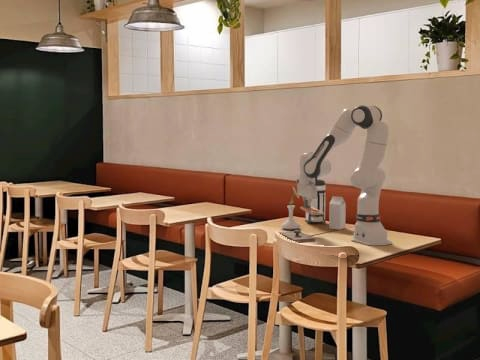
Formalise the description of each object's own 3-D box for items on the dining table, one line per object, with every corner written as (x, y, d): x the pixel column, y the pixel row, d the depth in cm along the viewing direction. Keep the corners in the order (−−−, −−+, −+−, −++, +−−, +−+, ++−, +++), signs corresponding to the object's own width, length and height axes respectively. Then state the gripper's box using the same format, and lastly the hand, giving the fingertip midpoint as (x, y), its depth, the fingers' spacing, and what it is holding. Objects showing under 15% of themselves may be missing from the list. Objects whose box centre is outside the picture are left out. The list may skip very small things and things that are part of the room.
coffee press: (297, 223, 373) (297, 175, 370) (314, 220, 384) (314, 173, 381) (318, 226, 361) (319, 177, 358) (335, 223, 371) (335, 175, 368)
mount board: (314, 241, 317) (314, 233, 316) (293, 242, 313) (294, 234, 313) (298, 233, 338) (298, 226, 337) (279, 235, 334) (279, 227, 334)
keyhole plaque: (323, 214, 327) (324, 205, 326) (312, 215, 325) (312, 206, 324) (311, 207, 343) (311, 199, 342) (300, 208, 341) (300, 199, 340)
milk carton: (339, 230, 349) (340, 197, 347) (329, 228, 353) (329, 196, 351) (345, 228, 354) (345, 196, 352) (334, 227, 359) (335, 195, 357)
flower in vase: (295, 231, 345) (296, 188, 343) (278, 229, 351) (278, 187, 348) (304, 227, 356) (304, 186, 354) (287, 226, 362) (287, 185, 360)
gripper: (320, 182, 329) (320, 207, 331) (305, 179, 349) (305, 202, 350) (309, 182, 328) (309, 207, 329) (295, 179, 347) (295, 203, 348)
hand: (307, 205), depth 340 cm, fingers closed on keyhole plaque, 3 cm apart
